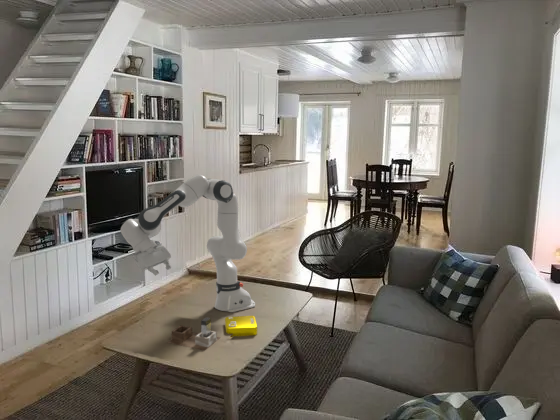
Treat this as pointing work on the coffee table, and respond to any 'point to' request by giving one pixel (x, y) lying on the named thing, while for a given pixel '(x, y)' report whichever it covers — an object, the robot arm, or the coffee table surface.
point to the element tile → (241, 326)
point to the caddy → (192, 338)
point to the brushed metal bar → (206, 327)
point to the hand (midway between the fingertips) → (163, 271)
